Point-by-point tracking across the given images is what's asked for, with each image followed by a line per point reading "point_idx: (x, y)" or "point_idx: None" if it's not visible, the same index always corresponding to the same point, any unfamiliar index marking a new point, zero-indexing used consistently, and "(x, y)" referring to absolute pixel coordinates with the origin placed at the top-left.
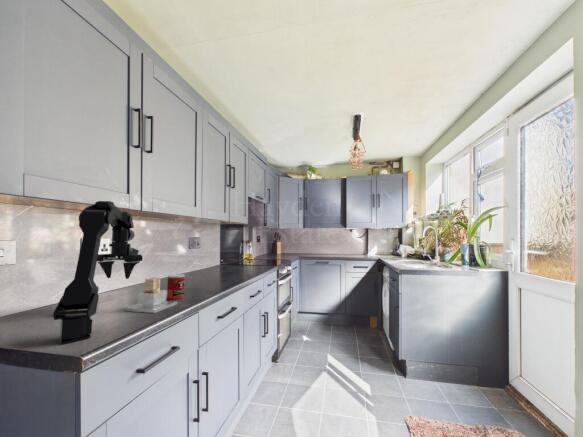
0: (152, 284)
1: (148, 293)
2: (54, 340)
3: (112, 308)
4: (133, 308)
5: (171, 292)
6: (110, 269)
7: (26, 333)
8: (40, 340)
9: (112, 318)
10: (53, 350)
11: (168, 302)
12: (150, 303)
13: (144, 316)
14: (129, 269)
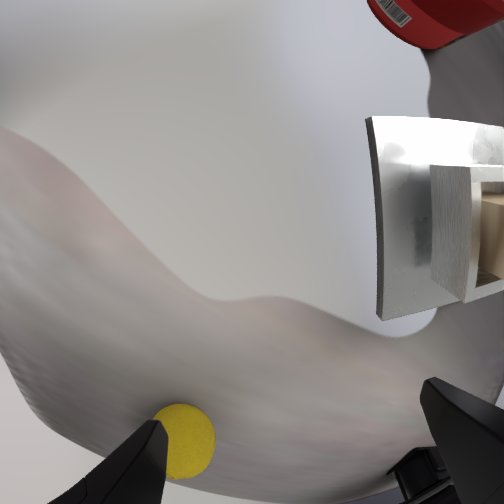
0: None
1: None
2: (385, 476)
3: (271, 305)
4: (429, 308)
5: (449, 38)
6: (122, 501)
7: (285, 491)
8: (359, 486)
9: (404, 385)
10: None
11: (496, 160)
12: None
13: (486, 322)
14: (500, 454)
